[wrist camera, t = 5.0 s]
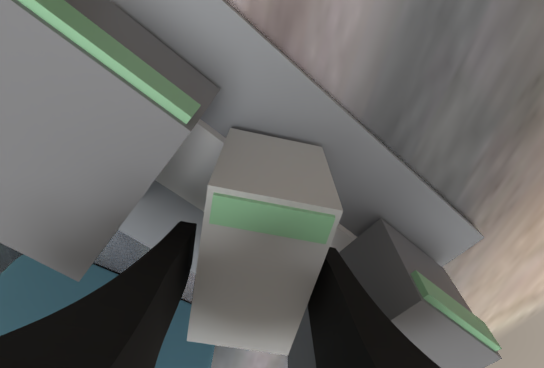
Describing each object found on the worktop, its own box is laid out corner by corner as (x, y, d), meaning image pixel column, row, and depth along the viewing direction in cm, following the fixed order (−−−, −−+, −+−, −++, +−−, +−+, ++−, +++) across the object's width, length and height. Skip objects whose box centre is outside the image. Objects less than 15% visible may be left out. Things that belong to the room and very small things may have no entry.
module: (322, 146, 14) (344, 213, 9) (284, 266, 17) (287, 359, 13) (230, 127, 14) (206, 187, 9) (210, 254, 17) (185, 344, 12)
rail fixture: (474, 226, 18) (570, 332, 12) (321, 334, 22) (337, 450, 16) (155, -64, 12) (36, -135, 6) (34, 164, 16) (-100, 251, 10)
